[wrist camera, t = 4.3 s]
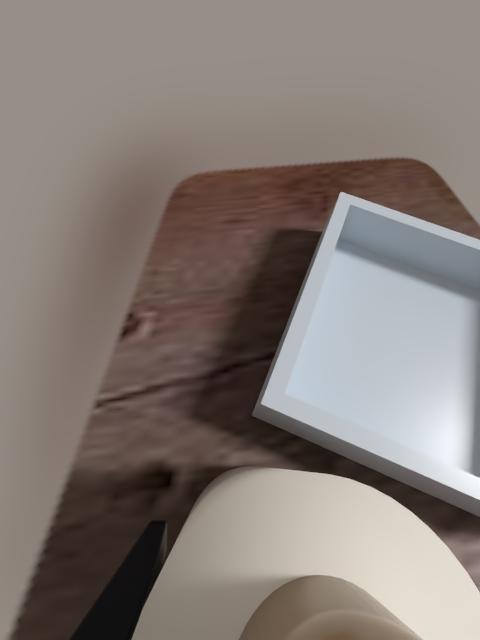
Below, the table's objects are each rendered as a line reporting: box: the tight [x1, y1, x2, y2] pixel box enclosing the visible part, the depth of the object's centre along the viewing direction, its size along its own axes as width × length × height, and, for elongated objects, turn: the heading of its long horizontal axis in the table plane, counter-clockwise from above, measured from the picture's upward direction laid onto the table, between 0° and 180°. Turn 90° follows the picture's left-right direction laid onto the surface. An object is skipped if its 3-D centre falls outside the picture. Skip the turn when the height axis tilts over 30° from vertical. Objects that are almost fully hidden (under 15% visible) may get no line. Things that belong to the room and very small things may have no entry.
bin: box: [252, 192, 480, 517], centre depth 16 cm, size 14×14×4 cm
